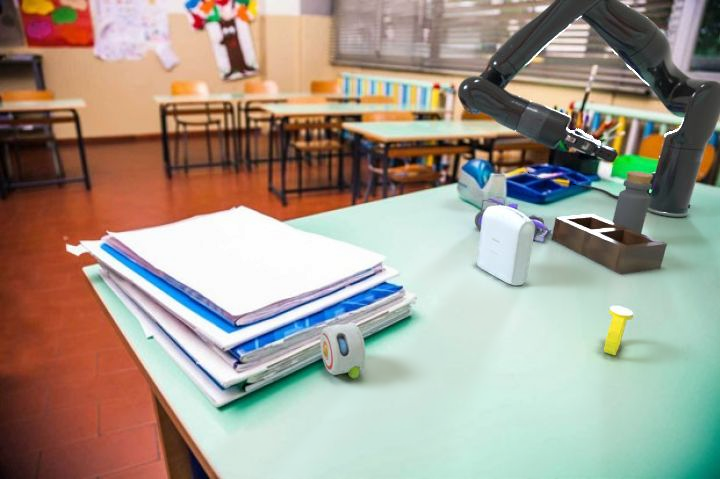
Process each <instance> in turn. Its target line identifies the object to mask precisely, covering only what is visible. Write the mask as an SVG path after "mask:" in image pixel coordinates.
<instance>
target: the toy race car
mask: <svg viewBox="0 0 720 479" xmlns="http://www.w3.org/2000/svg"><path fill="white" fill-rule="evenodd" d="M496 205H502V206H508V207H511V208H514V209H516V210H518V204H517V203H513V202H512V203H509V204H507V205H506V199H505V198H504V197H500V196H495V195H489V196H488V199H487V200H486V199H482V203H481V211H479V212H478V213H477V214H476V215H475V217H474V224H475V227H476V228H477V229H478V230H479V231H481V224H482V216H483V213H484V211H485V210H486V209H487V208H488V207H490V206H496ZM528 218H529V219H530V220H531V221H532V222H533V223H534V226H535V232H534V238H533V241H536V242H541V243H544V241H545V238H546V236H547V235H550V234H551V233H552V229H550V228H548V227H547V226H546V225H545V220H544V218H543V217H542V216H541V215H539V214H532V215H530V216H529V217H528ZM540 231H541V233H540V235H539V234H537V233H538V232H540Z"/></svg>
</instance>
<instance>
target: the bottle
mask: <svg viewBox="0 0 720 479" xmlns="http://www.w3.org/2000/svg"><path fill="white" fill-rule="evenodd" d="M651 174H652V173H648V172H645V171H634V170H633V171H631V170H630V171H627V172H626V179H624V181H623V186H624V187H625V188H624V189H622V190H621V191H620V192H619V194H618V196H619V197H618V199H617V201H616V205H615V208H614V213H613V219H612V222H613V223H616V224H618V225H621V226H623V227H626V228H628V229H631V230H633V231H636V232H638V233H641V234H643V233H642V232H643V229H644V224H645V220H646V217H647V213H648V210H647V209H648V205H649V201H650V196H649V194H647V190H649V189H651V185H652V184H651V183H650V181H651V179H652V177H653V175H651Z"/></svg>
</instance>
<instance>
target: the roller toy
mask: <svg viewBox="0 0 720 479" xmlns="http://www.w3.org/2000/svg"><path fill="white" fill-rule="evenodd" d="M319 342H320V343H319V345H320V353H321V358H322V361H323V364H324V367H325V369H326V370H327V372H328V373H329V374H331V375H334V376H337V375H341V374H348V376H349V377H350V378H351V379H356V378H357V379H358V378H359V375H360V370H362V369H363V367H364V365H365V363H366V354H367V352H366V345H365V339H364V336H363V334H362V331H361V329H360V328H359V326H358V325H357V324H355V323H353V322H347V323H345V324H333V325H329V326H325V327H324V328H323V329H322V330H321V333H320V338H319Z"/></svg>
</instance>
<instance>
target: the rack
mask: <svg viewBox="0 0 720 479" xmlns="http://www.w3.org/2000/svg"><path fill="white" fill-rule="evenodd" d="M551 240H552V241H553V242H555V243H558V244H560V245H562V246H564V247H566V248H568V249H570V250H571V251H574V252H576V253H578V254H579V255H582V256H584V257H585V258H587V259H590V260H592V261H594V262H596V263H597V264H600V265H602V266H604V267H606V268H608V269H610V270H611V271H614V272H616V273H619V274H620V275H624V274H631V273H637V272H645V271H650V270H657V269H661V267H662V264H663V261H664V258H665V253H666V250H667V246H668V243H666V242H664V241H662V240H659V239H656V238H654V237H651V236H649V235H646V234H643V233H638V232H636V231H633V230H631V229H628V228H626V227H623V226H621V225H618V224H616V223H613V221H610V220H608V219H605V218H603V217H600V216H597V215H595V214H593V213H590V214H589V213H588V214H580V215H579V214H578V215H569V216H557V217H555V219H554V224H553V230H552V235H551Z"/></svg>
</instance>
